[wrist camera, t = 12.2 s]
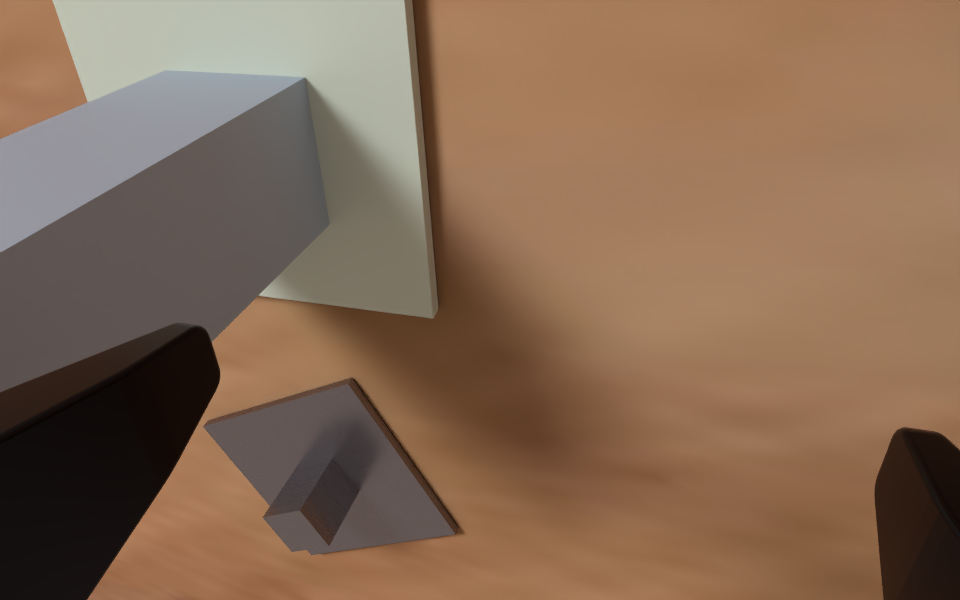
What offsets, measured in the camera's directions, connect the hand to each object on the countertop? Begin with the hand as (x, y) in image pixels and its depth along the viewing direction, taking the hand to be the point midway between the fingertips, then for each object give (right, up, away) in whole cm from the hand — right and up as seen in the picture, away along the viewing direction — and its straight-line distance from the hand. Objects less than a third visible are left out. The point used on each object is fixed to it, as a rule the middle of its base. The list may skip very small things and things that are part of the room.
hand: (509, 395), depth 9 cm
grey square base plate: (-7, -7, +23) cm, 25 cm away
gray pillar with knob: (-8, +6, +14) cm, 17 cm away
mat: (-8, +7, +14) cm, 18 cm away
